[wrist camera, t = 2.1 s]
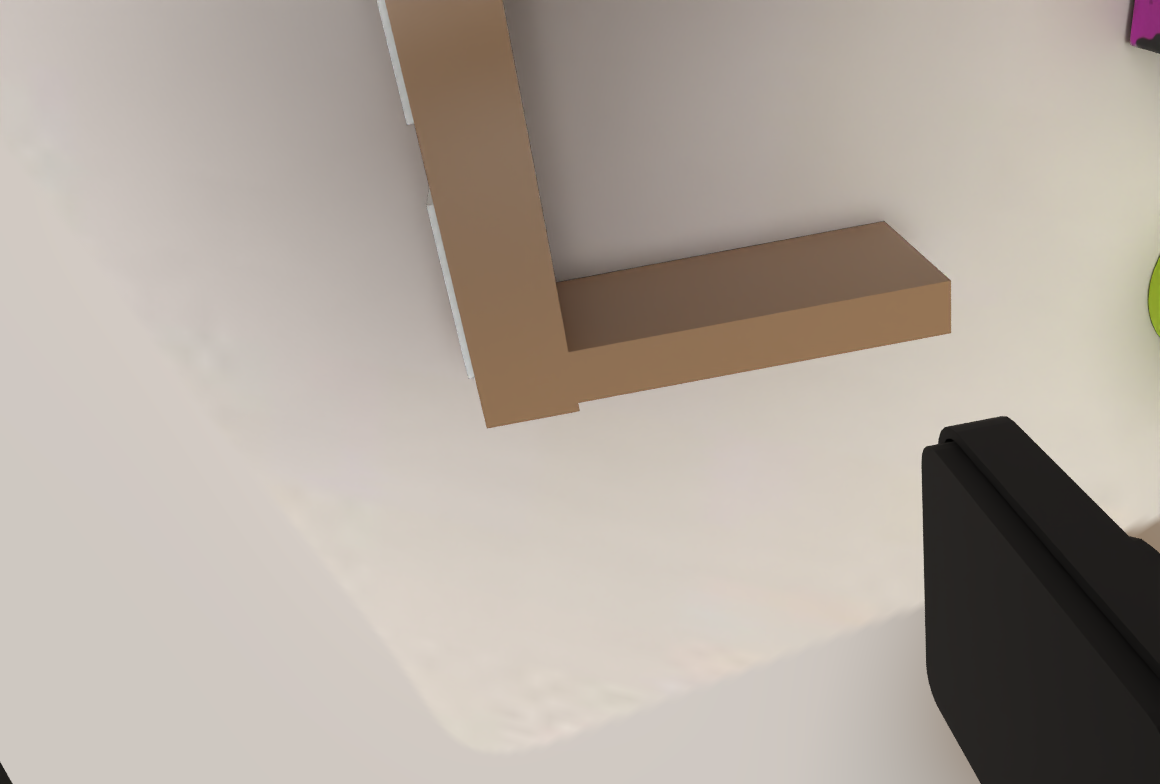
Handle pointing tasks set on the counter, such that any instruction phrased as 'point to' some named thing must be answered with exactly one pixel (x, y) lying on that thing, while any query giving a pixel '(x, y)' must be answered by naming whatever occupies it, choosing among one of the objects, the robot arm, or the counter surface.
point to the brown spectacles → (623, 298)
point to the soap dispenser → (1155, 298)
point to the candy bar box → (1146, 25)
